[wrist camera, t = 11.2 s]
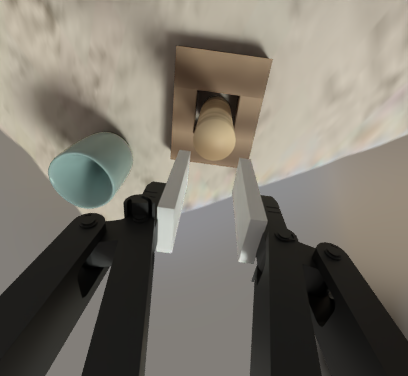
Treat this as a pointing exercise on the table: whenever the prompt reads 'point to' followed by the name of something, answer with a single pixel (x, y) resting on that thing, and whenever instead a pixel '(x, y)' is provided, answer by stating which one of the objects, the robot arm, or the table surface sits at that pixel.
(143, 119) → the table surface
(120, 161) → the cup
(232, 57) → the box with square hole
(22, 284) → the robot arm
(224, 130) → the peg
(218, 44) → the table surface
